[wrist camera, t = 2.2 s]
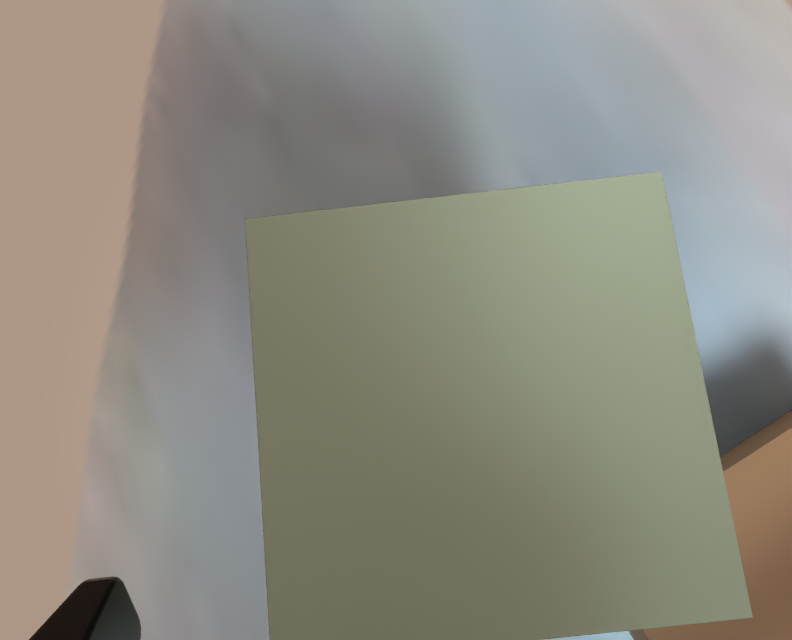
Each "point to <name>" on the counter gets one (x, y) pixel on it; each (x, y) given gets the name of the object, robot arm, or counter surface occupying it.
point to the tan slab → (755, 539)
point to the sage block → (486, 420)
